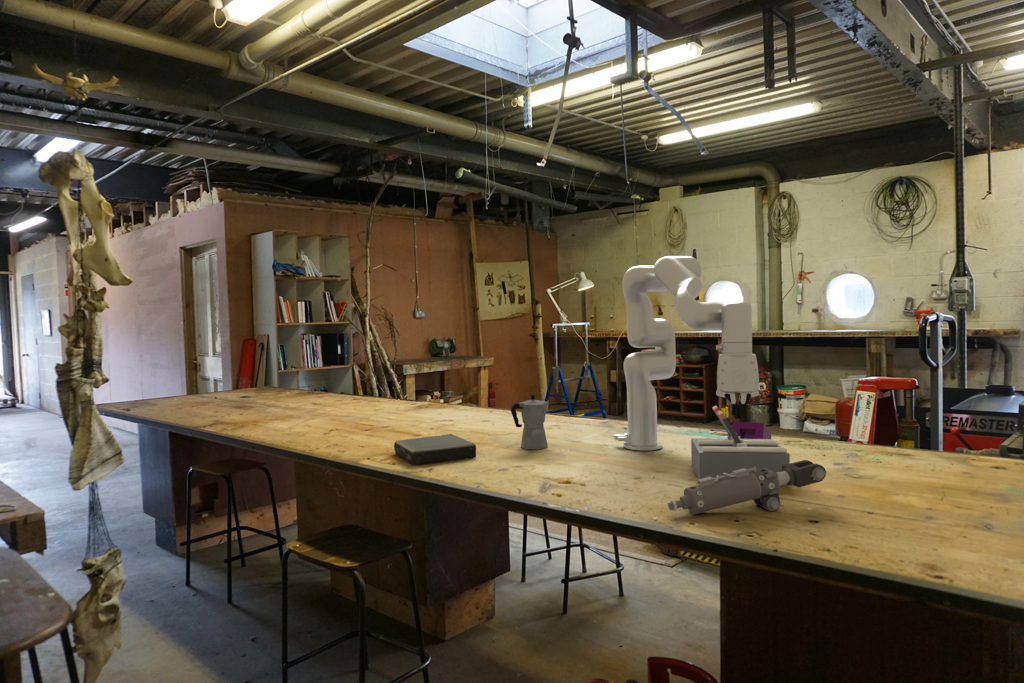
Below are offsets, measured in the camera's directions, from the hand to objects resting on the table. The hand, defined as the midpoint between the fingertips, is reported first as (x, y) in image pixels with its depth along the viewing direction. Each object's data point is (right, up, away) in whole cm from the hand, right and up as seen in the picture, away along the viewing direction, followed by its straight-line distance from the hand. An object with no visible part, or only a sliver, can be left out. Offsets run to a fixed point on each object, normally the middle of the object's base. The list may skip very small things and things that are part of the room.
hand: (737, 418), depth 166 cm
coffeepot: (-53, -16, +47) cm, 73 cm away
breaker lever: (+1, -7, 0) cm, 7 cm away
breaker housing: (+2, -16, +5) cm, 17 cm away
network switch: (-85, -18, +38) cm, 95 cm away
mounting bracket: (+18, -15, +37) cm, 44 cm away
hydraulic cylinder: (-7, -18, -25) cm, 31 cm away
